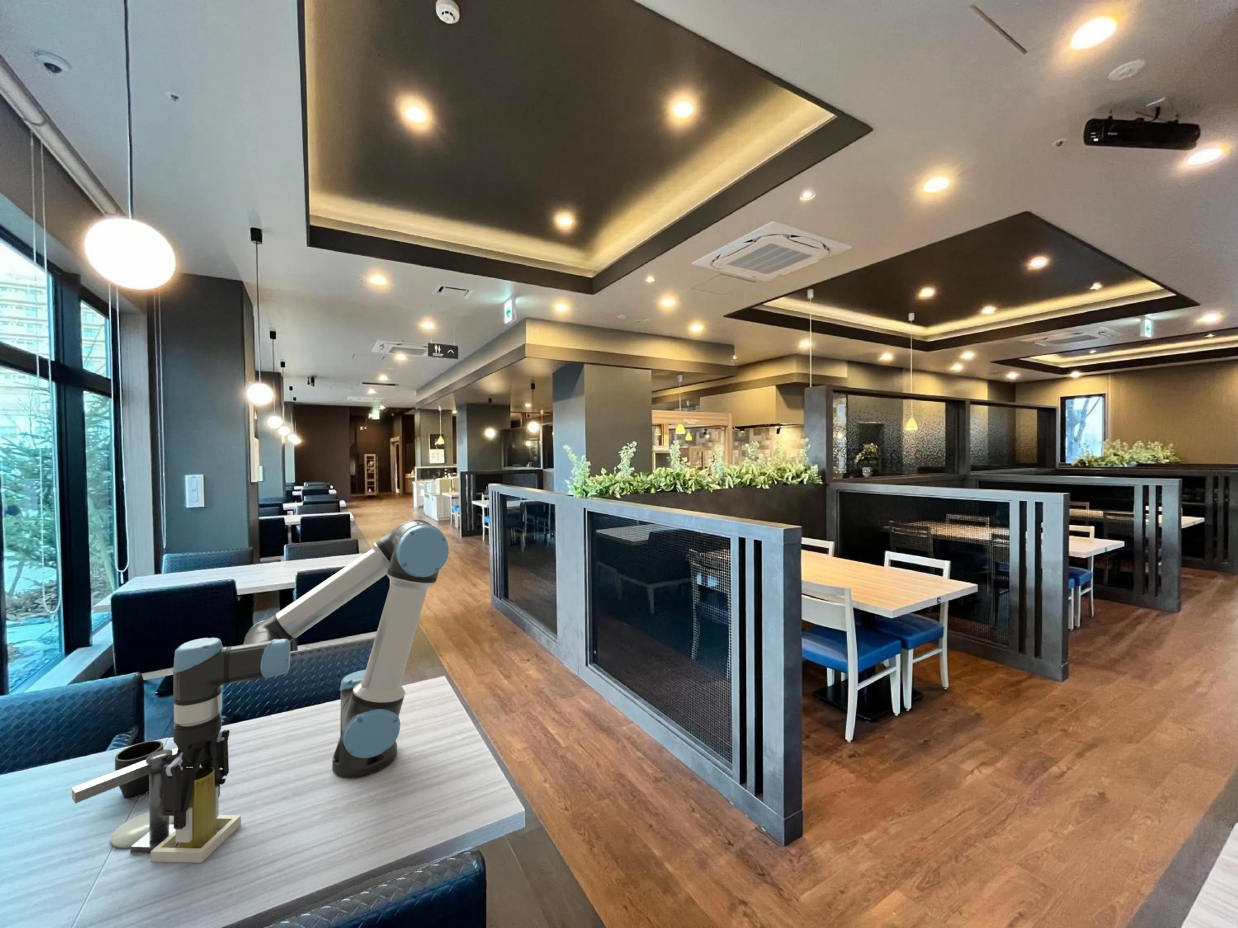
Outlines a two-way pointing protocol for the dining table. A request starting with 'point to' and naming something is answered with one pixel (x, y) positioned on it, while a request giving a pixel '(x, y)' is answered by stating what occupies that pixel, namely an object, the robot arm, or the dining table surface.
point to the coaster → (133, 831)
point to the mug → (132, 757)
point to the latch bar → (124, 775)
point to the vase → (202, 809)
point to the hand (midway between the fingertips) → (197, 828)
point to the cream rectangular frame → (195, 855)
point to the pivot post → (154, 817)
